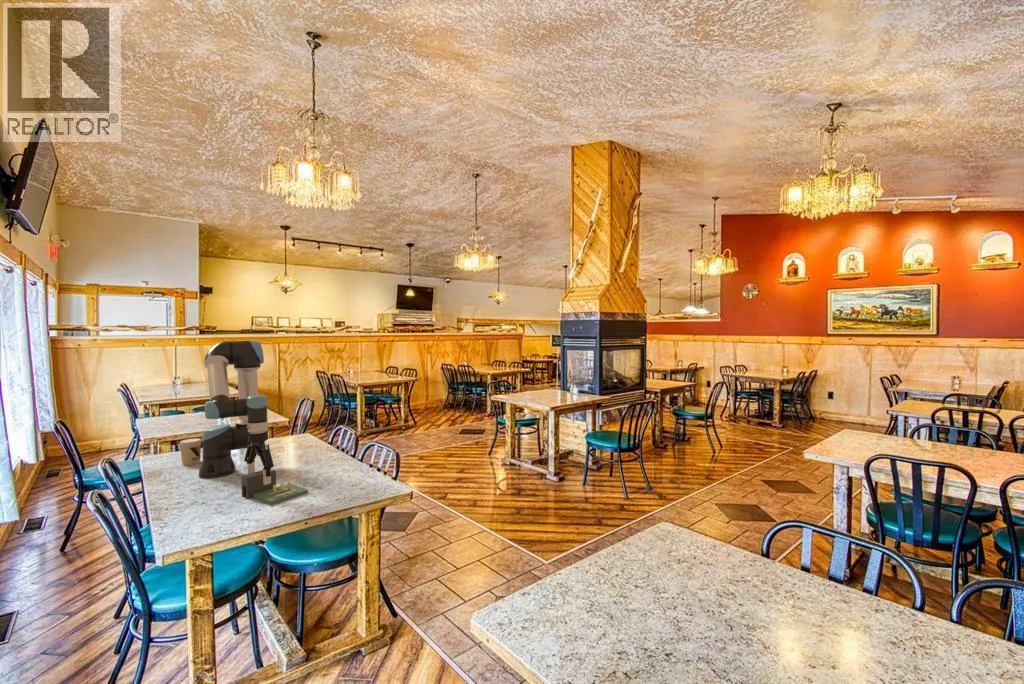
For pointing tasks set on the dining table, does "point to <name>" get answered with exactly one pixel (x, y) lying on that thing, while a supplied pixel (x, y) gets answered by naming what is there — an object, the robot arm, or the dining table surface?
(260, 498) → the header board
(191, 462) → the coffee cup
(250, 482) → the plug housing
